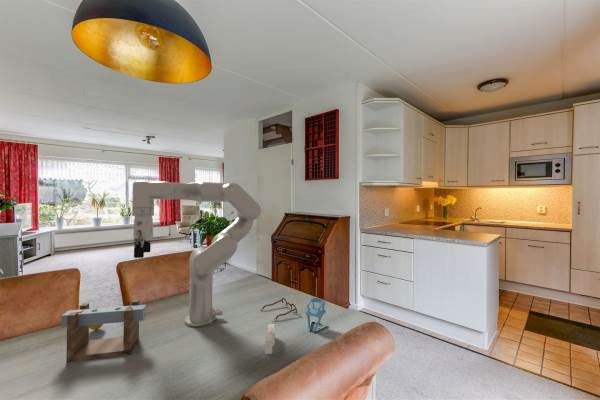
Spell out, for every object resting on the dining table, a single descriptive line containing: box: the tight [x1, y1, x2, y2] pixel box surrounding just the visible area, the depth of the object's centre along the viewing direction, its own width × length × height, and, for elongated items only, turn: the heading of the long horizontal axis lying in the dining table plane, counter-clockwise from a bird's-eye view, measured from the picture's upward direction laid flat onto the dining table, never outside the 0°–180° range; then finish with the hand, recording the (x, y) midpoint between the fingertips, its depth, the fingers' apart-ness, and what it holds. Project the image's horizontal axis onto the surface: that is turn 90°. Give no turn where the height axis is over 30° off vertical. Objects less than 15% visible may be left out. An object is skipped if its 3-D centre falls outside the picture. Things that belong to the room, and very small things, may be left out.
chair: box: [305, 297, 327, 332], centre depth 113 cm, size 8×8×12 cm
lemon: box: [89, 324, 104, 331], centre depth 106 cm, size 6×6×8 cm
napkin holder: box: [264, 323, 276, 355], centre depth 99 cm, size 15×11×6 cm
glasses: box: [261, 297, 298, 321], centre depth 126 cm, size 13×13×5 cm
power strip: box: [60, 304, 147, 328], centre depth 93 cm, size 24×4×4 cm, turn 106°
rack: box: [65, 299, 140, 363], centre depth 93 cm, size 18×10×15 cm, turn 106°
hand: (142, 254), depth 107 cm, fingers open, 9 cm apart
